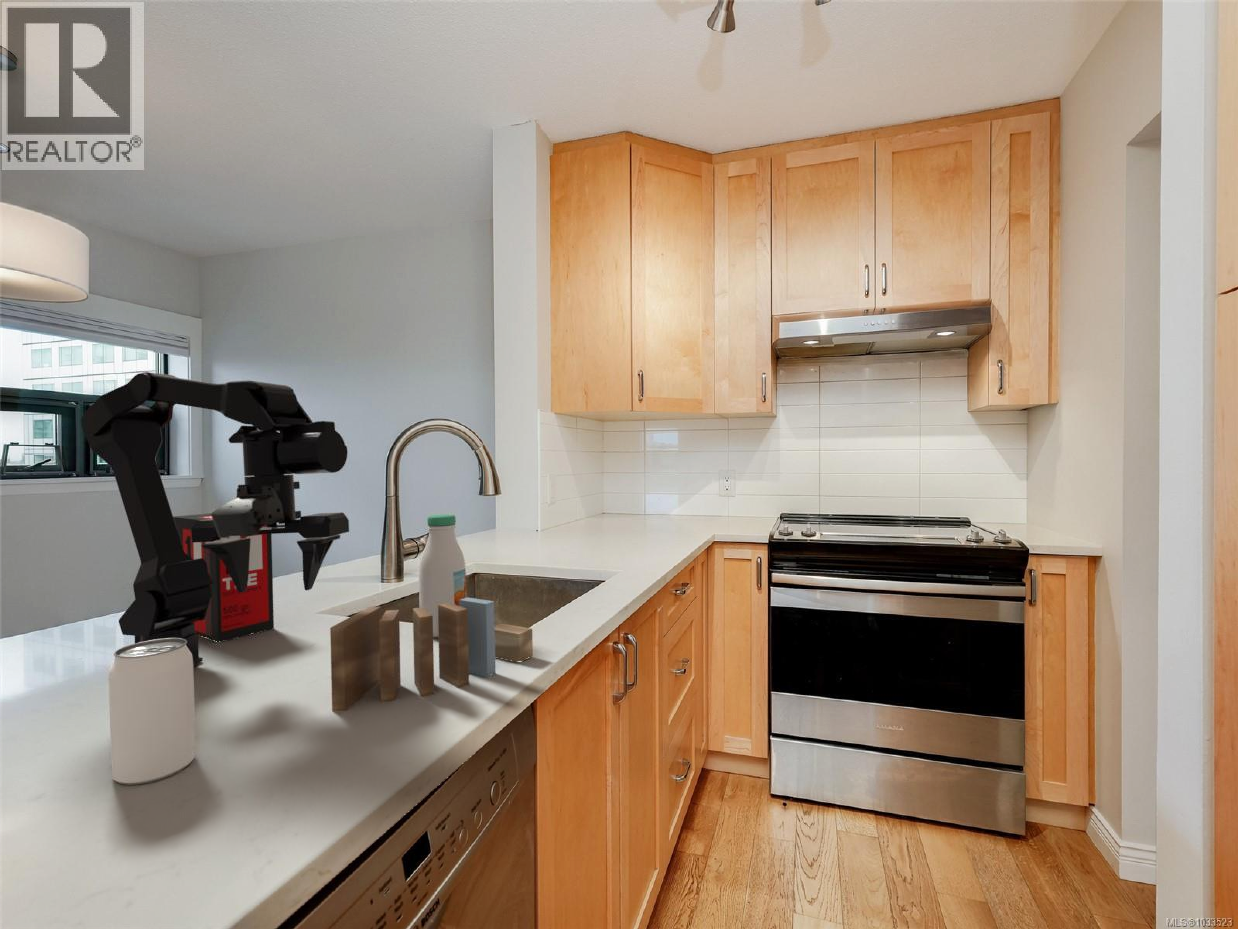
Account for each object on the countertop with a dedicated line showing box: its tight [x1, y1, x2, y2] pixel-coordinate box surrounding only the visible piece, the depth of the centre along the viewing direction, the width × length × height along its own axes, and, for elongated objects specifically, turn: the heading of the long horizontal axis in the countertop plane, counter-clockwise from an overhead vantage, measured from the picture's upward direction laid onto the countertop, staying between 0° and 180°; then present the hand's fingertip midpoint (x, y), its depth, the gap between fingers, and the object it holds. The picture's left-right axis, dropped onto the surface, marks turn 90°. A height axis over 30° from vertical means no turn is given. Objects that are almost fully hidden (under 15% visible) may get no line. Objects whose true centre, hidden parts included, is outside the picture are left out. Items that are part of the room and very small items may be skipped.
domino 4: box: [438, 603, 470, 689], centre depth 79 cm, size 2×5×10 cm, turn 44°
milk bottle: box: [418, 514, 467, 638], centre depth 101 cm, size 8×8×20 cm
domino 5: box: [459, 596, 496, 678], centre depth 82 cm, size 2×5×10 cm, turn 60°
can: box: [108, 638, 196, 786], centre depth 58 cm, size 6×6×12 cm
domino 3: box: [412, 606, 435, 697], centre depth 77 cm, size 2×5×10 cm, turn 28°
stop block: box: [495, 623, 534, 662], centre depth 89 cm, size 3×6×4 cm, turn 60°
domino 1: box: [329, 606, 382, 712], centre depth 75 cm, size 2×10×10 cm, turn 176°
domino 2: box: [379, 609, 402, 703], centre depth 76 cm, size 2×5×10 cm, turn 12°
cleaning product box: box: [173, 512, 275, 643], centre depth 105 cm, size 16×9×20 cm, turn 58°
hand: (275, 590), depth 80 cm, fingers open, 9 cm apart
